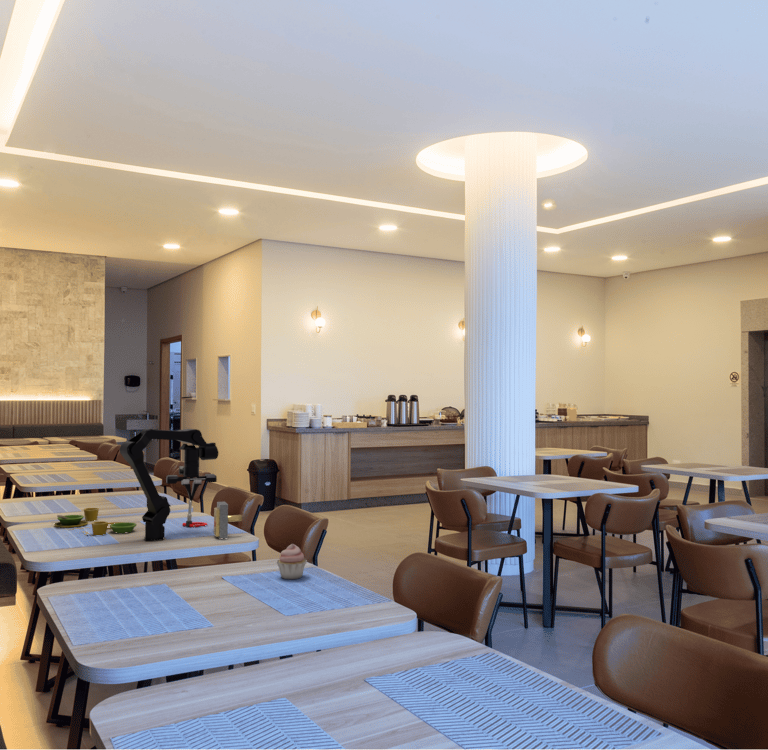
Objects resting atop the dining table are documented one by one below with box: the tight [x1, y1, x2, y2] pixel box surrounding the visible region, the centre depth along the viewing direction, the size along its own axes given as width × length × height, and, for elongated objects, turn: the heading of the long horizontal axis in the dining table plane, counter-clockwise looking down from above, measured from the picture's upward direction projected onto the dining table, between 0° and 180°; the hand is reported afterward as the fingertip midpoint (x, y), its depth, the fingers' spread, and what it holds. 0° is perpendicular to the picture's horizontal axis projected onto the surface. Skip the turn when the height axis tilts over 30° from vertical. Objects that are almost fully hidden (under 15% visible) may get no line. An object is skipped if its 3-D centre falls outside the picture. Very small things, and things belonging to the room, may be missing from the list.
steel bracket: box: [216, 501, 229, 539], centre depth 272 cm, size 3×8×13 cm, turn 21°
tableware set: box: [50, 507, 137, 536], centre depth 290 cm, size 41×28×6 cm
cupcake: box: [276, 543, 308, 580], centre depth 214 cm, size 9×9×10 cm
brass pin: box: [213, 507, 243, 538], centre depth 273 cm, size 10×6×10 cm, turn 111°
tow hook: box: [182, 499, 208, 529], centre depth 296 cm, size 8×13×9 cm
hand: (191, 500), depth 278 cm, fingers closed
